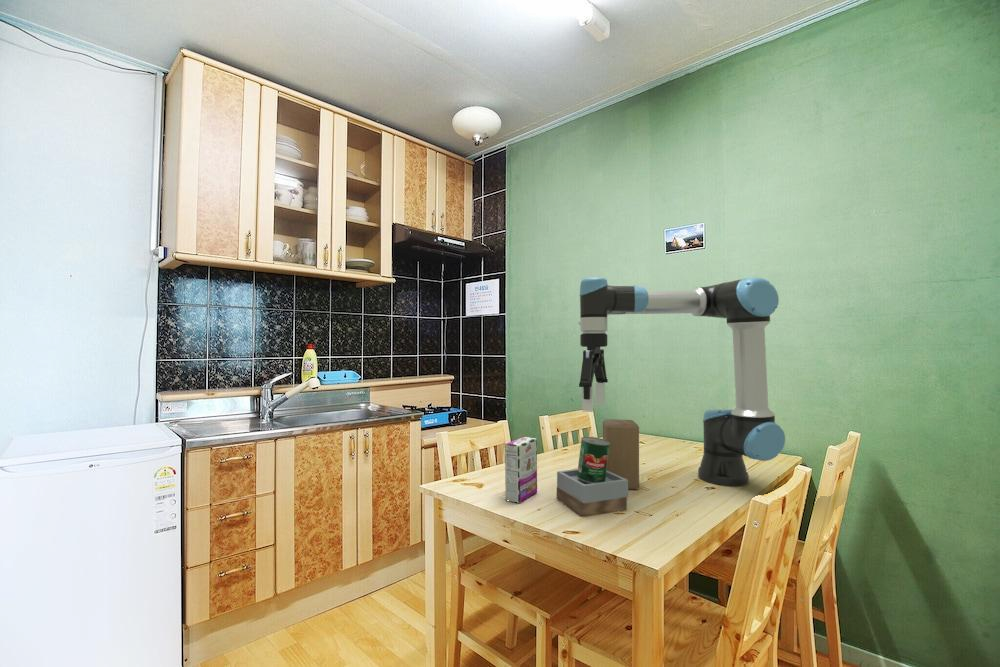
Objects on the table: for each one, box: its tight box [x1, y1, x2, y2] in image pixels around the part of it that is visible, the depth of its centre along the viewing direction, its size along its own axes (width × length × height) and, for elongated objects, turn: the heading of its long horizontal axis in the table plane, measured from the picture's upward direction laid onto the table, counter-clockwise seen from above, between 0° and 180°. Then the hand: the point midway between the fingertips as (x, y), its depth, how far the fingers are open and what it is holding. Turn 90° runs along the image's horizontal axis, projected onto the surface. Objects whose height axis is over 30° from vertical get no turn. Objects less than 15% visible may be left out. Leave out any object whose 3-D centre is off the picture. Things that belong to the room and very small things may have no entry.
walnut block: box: [556, 486, 628, 517], centre depth 127 cm, size 14×14×4 cm
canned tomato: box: [577, 436, 610, 484], centre depth 127 cm, size 8×8×11 cm
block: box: [602, 418, 640, 490], centre depth 145 cm, size 10×10×20 cm
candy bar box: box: [504, 436, 538, 504], centre depth 133 cm, size 11×5×16 cm, turn 148°
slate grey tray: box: [556, 468, 629, 503], centre depth 127 cm, size 14×14×4 cm
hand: (594, 408), depth 128 cm, fingers open, 13 cm apart
